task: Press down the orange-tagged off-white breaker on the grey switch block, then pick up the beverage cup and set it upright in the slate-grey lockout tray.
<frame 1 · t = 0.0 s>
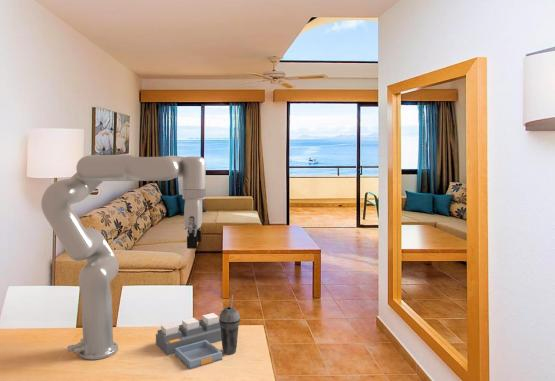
hand: (194, 245, 156), 37 cm above the table, tool pointing down, fingers open, 9 cm apart
beverage cup: (229, 352, 160), on the table
lockout tray: (198, 357, 156), on the table
grey switch block: (190, 342, 167), on the table
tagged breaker: (169, 329, 162), point 7 cm above the table, slide at 0.0 cm
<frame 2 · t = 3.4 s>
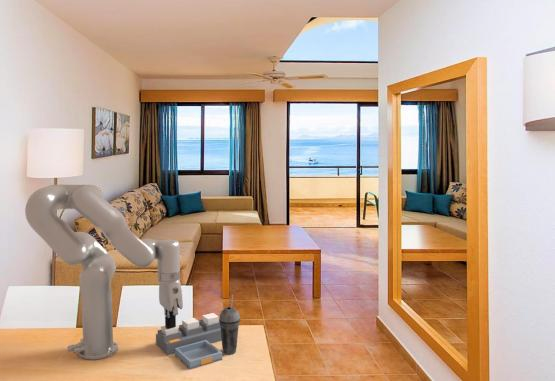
hand: (170, 327, 162), 7 cm above the table, tool pointing down, fingers closed
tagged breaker: (169, 330, 162), point 6 cm above the table, slide at 0.6 cm, touching gripper
everything else where it was.
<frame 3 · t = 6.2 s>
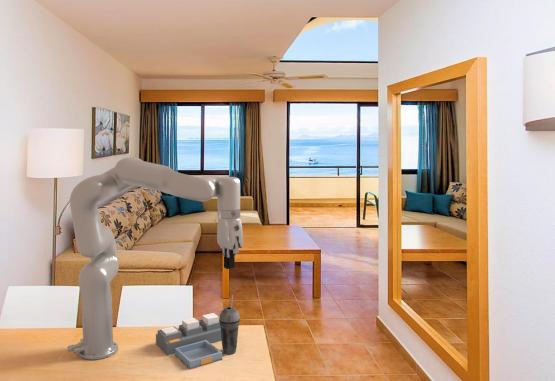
hand: (229, 267, 157), 29 cm above the table, tool pointing down, fingers closed
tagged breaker: (169, 333, 162), point 5 cm above the table, slide at 1.5 cm
everything else where it was.
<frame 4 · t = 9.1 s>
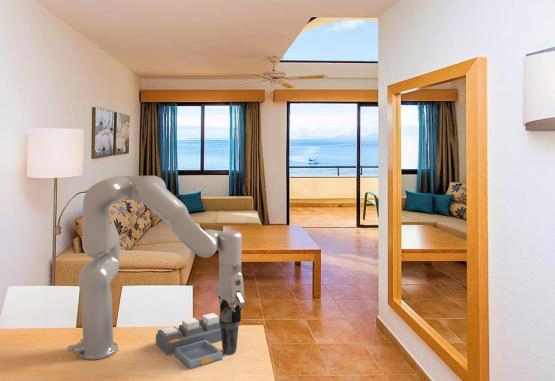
hand: (230, 318, 159), 12 cm above the table, tool pointing down, fingers closed on beverage cup, 7 cm apart
beverage cup: (229, 352, 160), on the table, touching gripper
everything else where it was.
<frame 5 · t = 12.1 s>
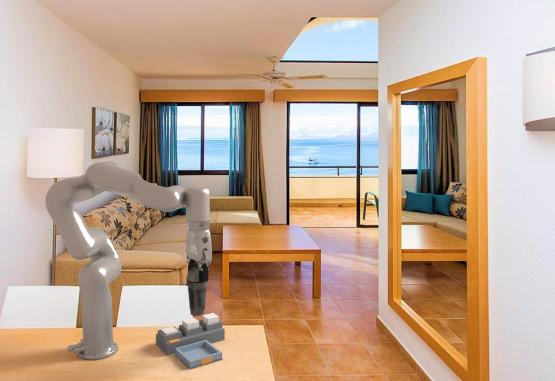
hand: (197, 278, 153), 27 cm above the table, tool pointing down, fingers closed on beverage cup, 7 cm apart
beverage cup: (197, 314, 154), point 15 cm above the table, touching gripper
everything else where it was.
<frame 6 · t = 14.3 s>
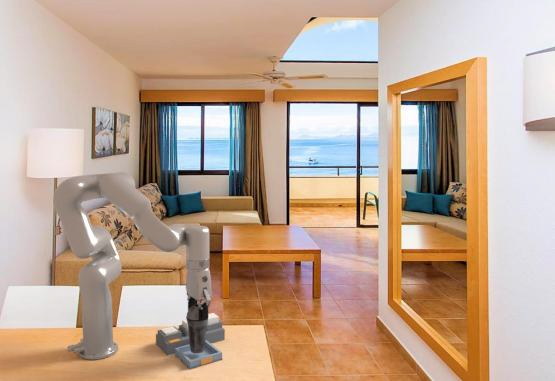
hand: (197, 315, 154), 14 cm above the table, tool pointing down, fingers closed on beverage cup, 7 cm apart
beverage cup: (197, 350, 155), point 2 cm above the table, touching gripper
everything else where it was.
when the fingers open (14 cm above the table, at t = 14.9 s): beverage cup drops 2 cm, resting on lockout tray.
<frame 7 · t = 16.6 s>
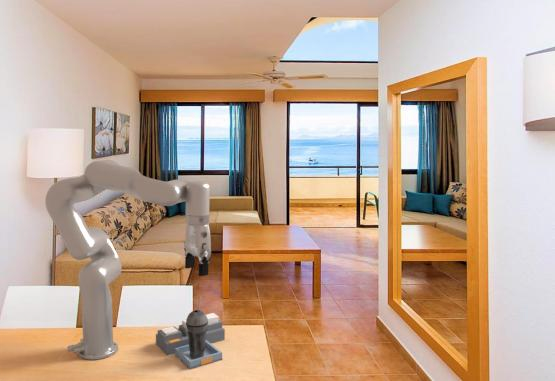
hand: (196, 271, 152), 29 cm above the table, tool pointing down, fingers open, 9 cm apart
beverage cup: (197, 356, 156), resting on lockout tray
everything else where it was.
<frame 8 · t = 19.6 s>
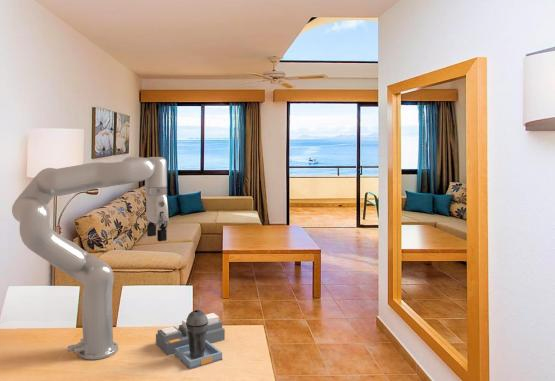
hand: (156, 238, 169), 36 cm above the table, tool pointing down, fingers open, 9 cm apart
nothing on the table moved.
at the end: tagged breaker slide at 1.5 cm; beverage cup 0.4 cm off-centre on the lockout tray, point 0.4 cm above the lockout tray's base; beverage cup tilted 0° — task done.
